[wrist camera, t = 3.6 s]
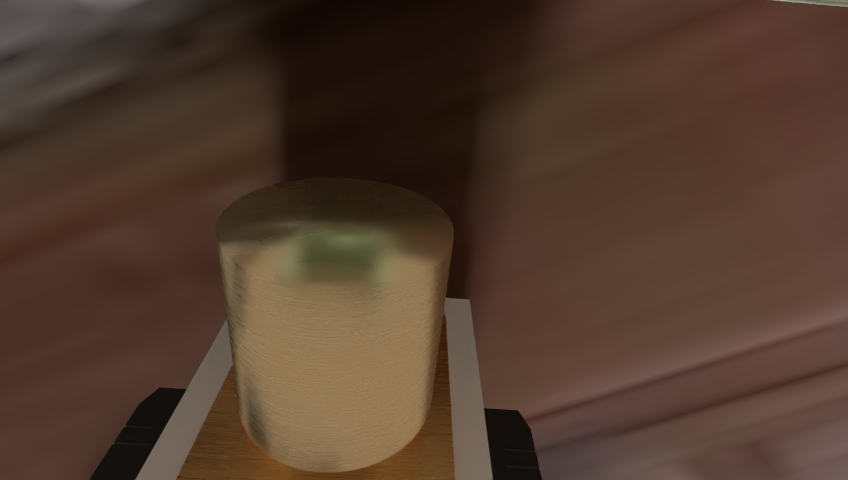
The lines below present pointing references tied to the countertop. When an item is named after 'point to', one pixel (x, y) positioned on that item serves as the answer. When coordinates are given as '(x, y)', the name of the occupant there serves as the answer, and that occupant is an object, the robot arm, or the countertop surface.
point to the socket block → (822, 2)
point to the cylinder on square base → (332, 337)
